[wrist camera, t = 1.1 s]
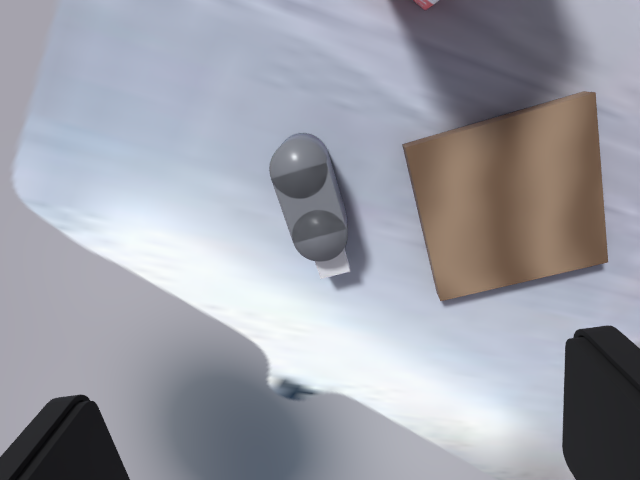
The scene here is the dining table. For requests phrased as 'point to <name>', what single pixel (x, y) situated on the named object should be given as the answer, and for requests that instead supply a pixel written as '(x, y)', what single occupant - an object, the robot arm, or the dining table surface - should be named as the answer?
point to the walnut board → (511, 197)
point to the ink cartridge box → (425, 3)
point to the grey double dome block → (311, 202)
